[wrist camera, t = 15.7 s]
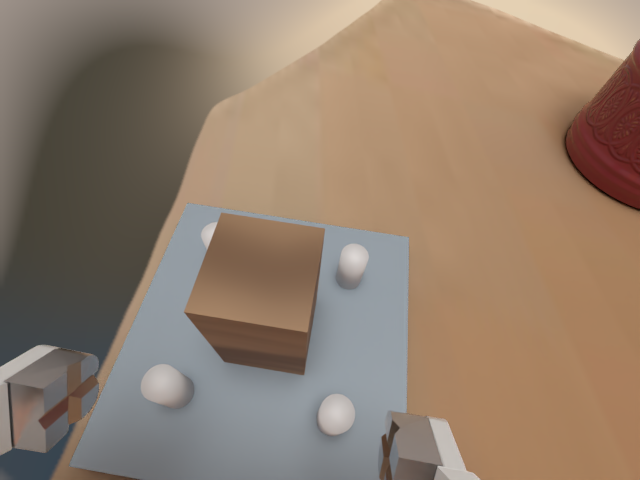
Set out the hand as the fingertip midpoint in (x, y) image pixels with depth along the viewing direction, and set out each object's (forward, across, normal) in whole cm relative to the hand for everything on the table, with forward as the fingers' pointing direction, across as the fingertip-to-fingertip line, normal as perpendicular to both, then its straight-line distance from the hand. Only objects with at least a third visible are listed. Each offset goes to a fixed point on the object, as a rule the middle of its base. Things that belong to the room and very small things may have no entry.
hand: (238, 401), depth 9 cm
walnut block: (+10, +1, +3) cm, 11 cm away
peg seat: (+11, +1, +4) cm, 12 cm away
